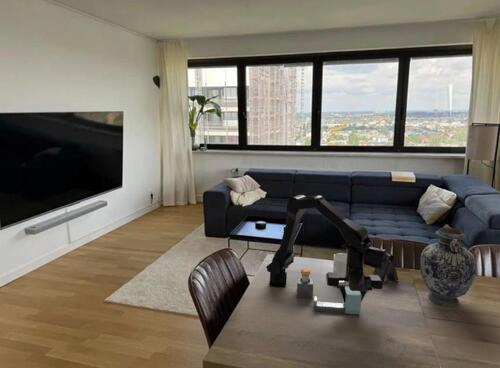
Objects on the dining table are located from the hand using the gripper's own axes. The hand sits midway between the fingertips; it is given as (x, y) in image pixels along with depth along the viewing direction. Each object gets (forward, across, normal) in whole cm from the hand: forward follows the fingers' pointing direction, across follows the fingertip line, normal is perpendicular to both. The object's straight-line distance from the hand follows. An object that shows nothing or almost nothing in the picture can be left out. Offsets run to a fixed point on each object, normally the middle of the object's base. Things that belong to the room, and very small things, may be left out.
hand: (351, 302), depth 128 cm
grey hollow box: (+4, -16, +10) cm, 20 cm away
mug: (+4, 0, +24) cm, 25 cm away
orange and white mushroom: (+1, -16, +10) cm, 19 cm away
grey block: (+4, 0, 0) cm, 4 cm away
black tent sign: (+4, +18, +28) cm, 34 cm away
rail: (+4, -6, 0) cm, 7 cm away
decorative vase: (+4, +36, +13) cm, 39 cm away
